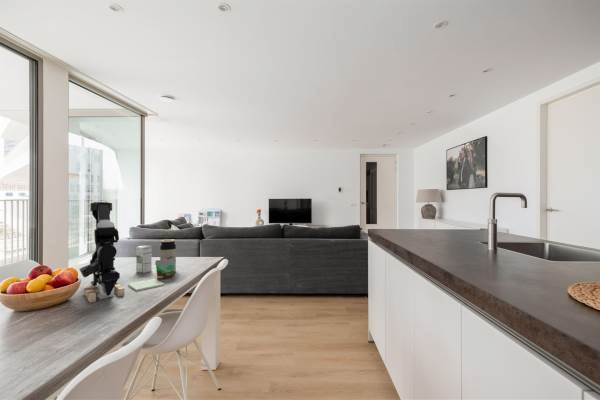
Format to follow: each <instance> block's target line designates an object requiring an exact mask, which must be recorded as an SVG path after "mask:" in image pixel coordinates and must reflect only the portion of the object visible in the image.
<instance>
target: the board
mask: <svg viewBox="0 0 600 400" xmlns="http://www.w3.org/2000/svg"><path fill="white" fill-rule="evenodd" d="M127 286H128V287H129V288H131V289H132V290H134V291H135V292H139V291H143V290H149V289H155V288H158V287H164V286H165V283H164V282H162V281H160V280H159V279H157V278H153V279H147V280H142V281H137V282H131V283H127Z"/></svg>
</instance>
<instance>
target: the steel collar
mask: <svg viewBox="0 0 600 400" xmlns="http://www.w3.org/2000/svg"><path fill="white" fill-rule="evenodd" d="M96 286H97V294H96V298H98V299H99V300H103V299H107V298H113V297H115V292H114V288H113V290H112V292H111V294H110V295H108V296H107V295H106V291H105V286H104V283H102V282H97V285H96Z"/></svg>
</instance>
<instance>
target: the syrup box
mask: <svg viewBox="0 0 600 400" xmlns="http://www.w3.org/2000/svg"><path fill="white" fill-rule="evenodd" d="M135 250H136V253H135V254H136V255H135V256H136V258H135V261H136V264H135V265H136V267H135V268H136V269H135V270H136V272H137V273H142V274H146V273H149V272H152V271H153V269H152V264H153V263H152V262H153V261H152V260H153V259H152V257H153V256H152V253H153V251H152V245H145V244H144V245H138V246H136V248H135Z"/></svg>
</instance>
